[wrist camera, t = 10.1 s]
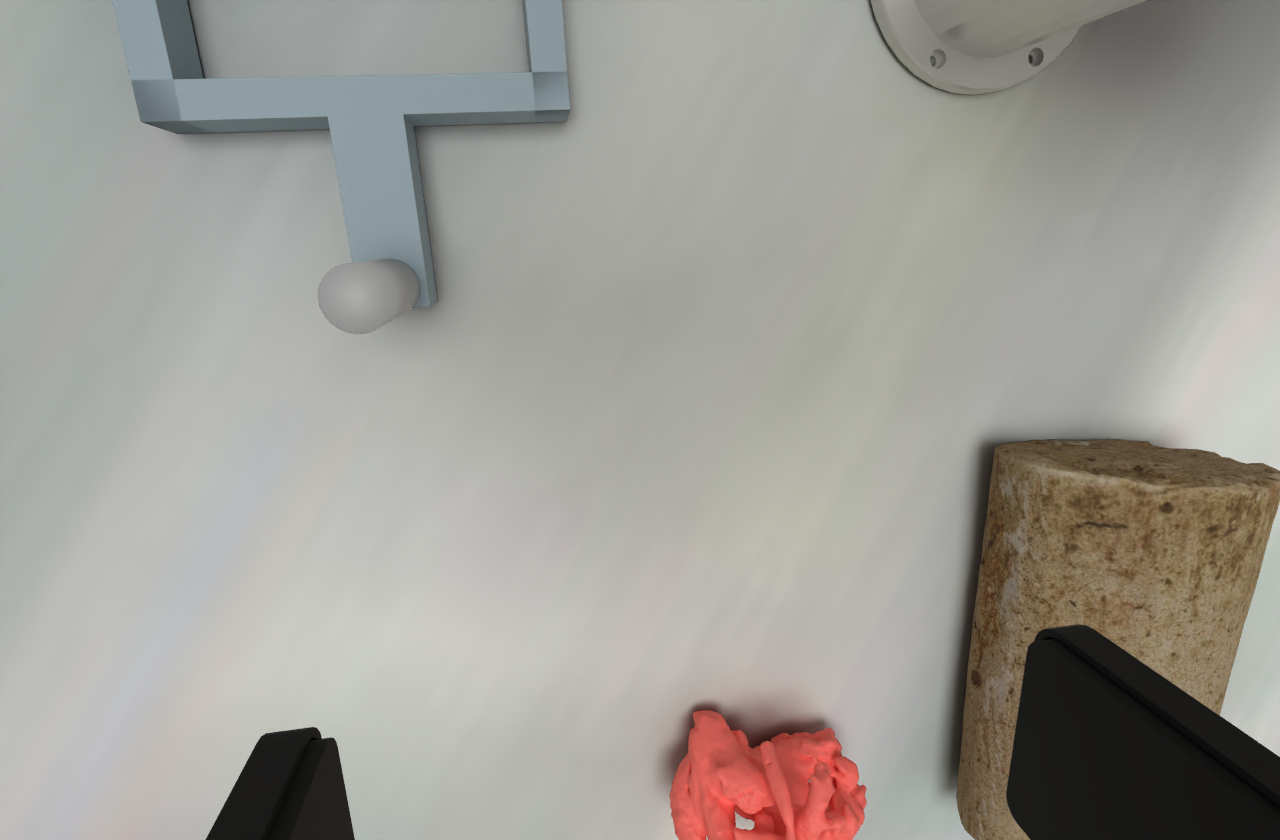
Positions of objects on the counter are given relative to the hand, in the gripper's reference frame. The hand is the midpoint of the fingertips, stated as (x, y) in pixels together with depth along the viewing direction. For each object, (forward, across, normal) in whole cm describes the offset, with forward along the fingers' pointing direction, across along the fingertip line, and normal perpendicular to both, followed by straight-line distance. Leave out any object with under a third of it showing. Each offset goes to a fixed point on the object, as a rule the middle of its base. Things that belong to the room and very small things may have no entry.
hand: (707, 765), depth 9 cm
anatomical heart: (+28, -10, +26) cm, 39 cm away
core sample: (+28, -31, +19) cm, 46 cm away
